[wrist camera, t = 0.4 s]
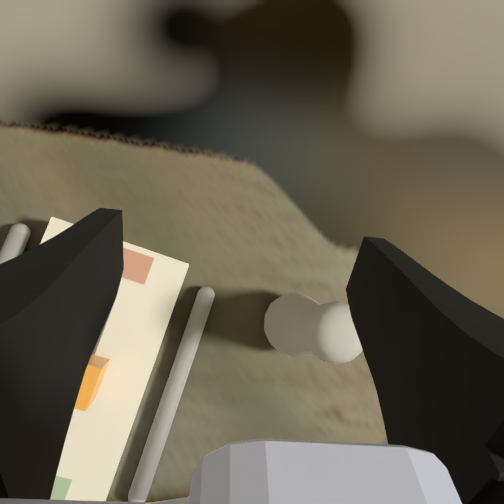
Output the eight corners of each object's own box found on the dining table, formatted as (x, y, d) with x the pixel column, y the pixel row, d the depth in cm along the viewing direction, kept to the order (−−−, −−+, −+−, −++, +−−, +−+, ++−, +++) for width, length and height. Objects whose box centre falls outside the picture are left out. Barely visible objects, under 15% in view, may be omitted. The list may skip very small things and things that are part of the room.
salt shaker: (249, 307, 40) (289, 311, 28) (300, 283, 42) (360, 277, 29) (272, 362, 40) (324, 392, 27) (323, 337, 41) (394, 354, 29)
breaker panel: (101, 508, 35) (96, 527, 32) (-45, 473, 34) (-66, 491, 31) (187, 266, 39) (189, 264, 36) (60, 223, 37) (51, 216, 34)
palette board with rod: (143, 502, 36) (143, 512, 35) (-82, 448, 33) (-94, 455, 32) (215, 289, 40) (218, 289, 38) (17, 222, 37) (11, 219, 35)
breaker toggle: (96, 395, 33) (85, 411, 29) (33, 378, 32) (11, 391, 28) (109, 359, 34) (101, 368, 29) (48, 340, 33) (29, 347, 28)
